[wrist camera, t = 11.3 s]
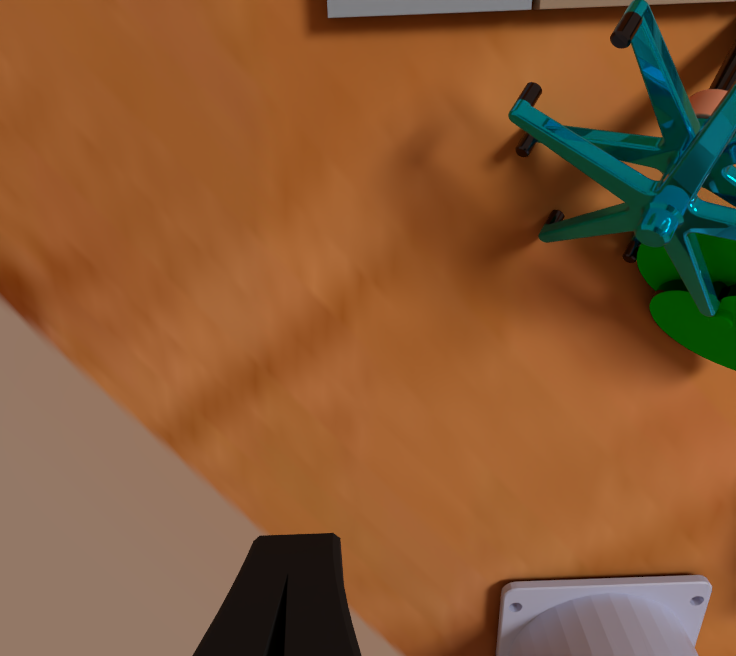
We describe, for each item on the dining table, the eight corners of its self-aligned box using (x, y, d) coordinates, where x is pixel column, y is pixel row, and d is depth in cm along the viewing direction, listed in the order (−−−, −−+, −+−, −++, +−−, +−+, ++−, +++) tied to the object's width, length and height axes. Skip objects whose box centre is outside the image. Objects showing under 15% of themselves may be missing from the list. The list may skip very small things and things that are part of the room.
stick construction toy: (426, 116, 14) (841, 56, 8) (563, -87, 15) (995, -270, 9) (614, 375, 21) (907, 449, 15) (694, 218, 22) (989, 226, 16)
